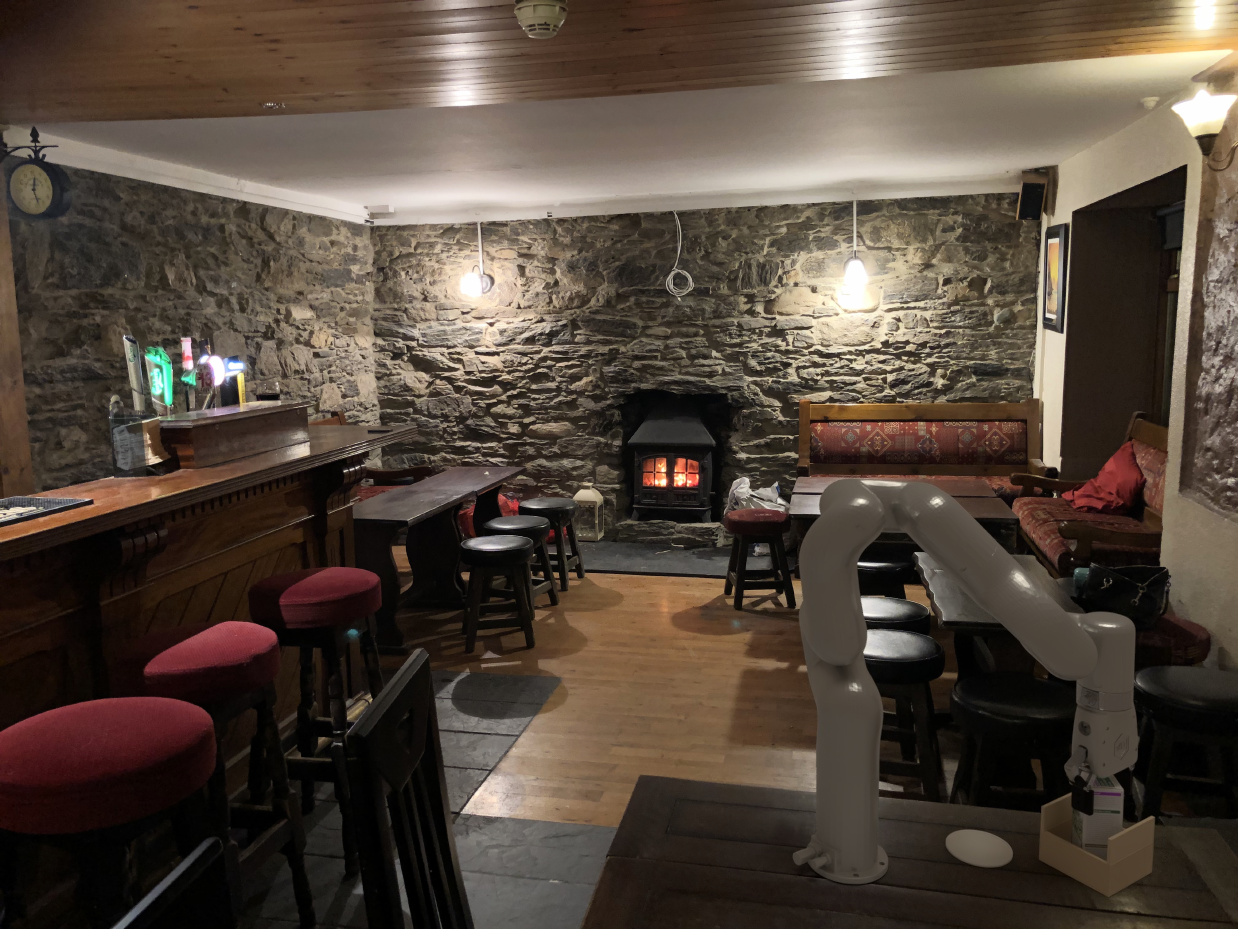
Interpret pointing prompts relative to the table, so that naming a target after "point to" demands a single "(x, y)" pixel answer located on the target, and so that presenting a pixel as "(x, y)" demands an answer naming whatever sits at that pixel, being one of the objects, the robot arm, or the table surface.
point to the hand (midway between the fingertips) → (1101, 801)
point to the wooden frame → (1124, 855)
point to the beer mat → (979, 848)
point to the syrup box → (1099, 817)
